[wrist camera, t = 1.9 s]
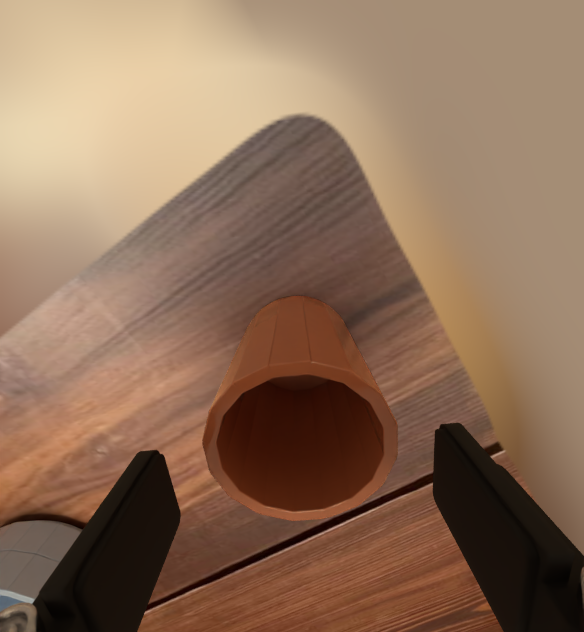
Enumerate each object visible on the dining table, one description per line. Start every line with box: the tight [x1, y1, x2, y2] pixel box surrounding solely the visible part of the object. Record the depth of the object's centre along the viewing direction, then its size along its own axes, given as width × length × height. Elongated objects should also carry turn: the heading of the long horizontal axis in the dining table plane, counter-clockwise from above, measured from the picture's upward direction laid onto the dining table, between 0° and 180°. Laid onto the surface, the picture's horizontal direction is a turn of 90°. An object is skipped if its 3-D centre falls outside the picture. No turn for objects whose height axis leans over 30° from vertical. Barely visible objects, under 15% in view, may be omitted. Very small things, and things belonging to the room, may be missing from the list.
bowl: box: [0, 520, 82, 611], centre depth 22 cm, size 11×11×5 cm
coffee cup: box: [202, 296, 398, 521], centre depth 14 cm, size 7×7×9 cm
